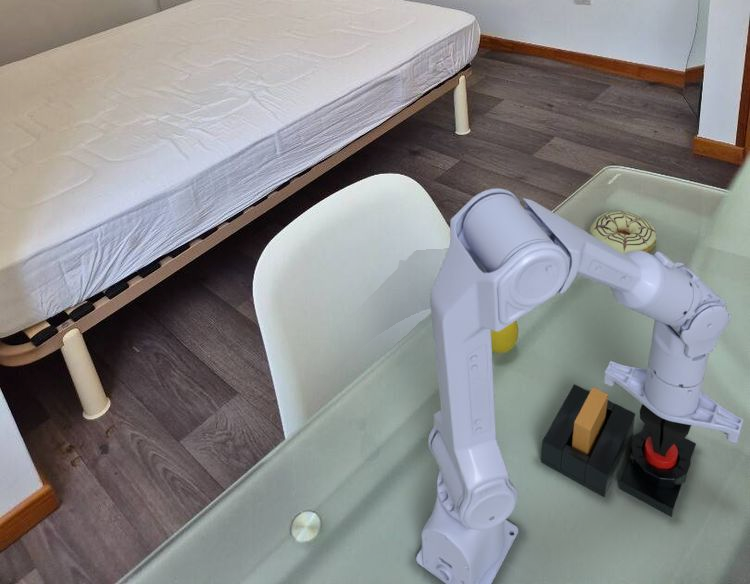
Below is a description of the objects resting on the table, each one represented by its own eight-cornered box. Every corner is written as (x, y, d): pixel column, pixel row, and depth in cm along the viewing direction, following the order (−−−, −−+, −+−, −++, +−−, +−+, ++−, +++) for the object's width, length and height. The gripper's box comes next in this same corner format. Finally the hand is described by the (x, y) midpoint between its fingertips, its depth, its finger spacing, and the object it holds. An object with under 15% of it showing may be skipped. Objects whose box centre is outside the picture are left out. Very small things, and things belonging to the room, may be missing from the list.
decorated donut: (577, 239, 122) (578, 222, 121) (618, 217, 127) (620, 200, 125) (624, 271, 114) (626, 253, 112) (667, 246, 119) (669, 229, 117)
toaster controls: (673, 519, 78) (677, 502, 77) (616, 487, 82) (619, 471, 80) (696, 451, 85) (700, 435, 84) (643, 425, 89) (645, 409, 87)
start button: (671, 477, 80) (672, 467, 79) (639, 461, 82) (641, 452, 81) (679, 454, 83) (681, 444, 82) (649, 439, 85) (650, 429, 84)
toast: (586, 466, 83) (590, 430, 81) (570, 458, 84) (574, 422, 82) (604, 430, 88) (608, 394, 85) (588, 422, 89) (592, 387, 86)
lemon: (517, 367, 98) (518, 325, 95) (478, 362, 99) (478, 321, 96) (517, 337, 103) (519, 297, 100) (480, 333, 104) (480, 293, 101)
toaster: (604, 498, 81) (607, 476, 79) (540, 462, 85) (542, 441, 83) (632, 434, 88) (635, 413, 86) (572, 404, 92) (574, 383, 90)
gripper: (756, 371, 74) (735, 453, 80) (622, 317, 83) (612, 395, 88) (742, 418, 69) (721, 502, 75) (601, 356, 78) (592, 437, 84)
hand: (661, 448), depth 82 cm, fingers closed, pressing on start button
